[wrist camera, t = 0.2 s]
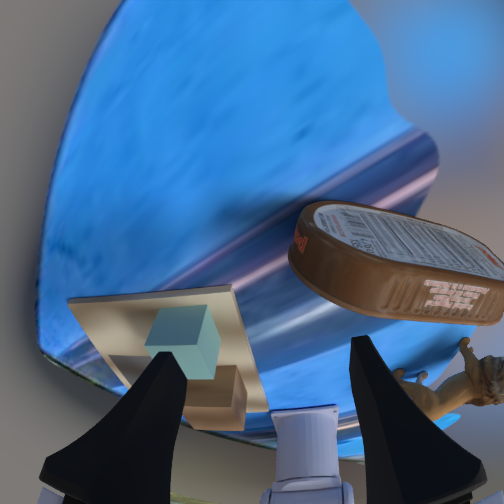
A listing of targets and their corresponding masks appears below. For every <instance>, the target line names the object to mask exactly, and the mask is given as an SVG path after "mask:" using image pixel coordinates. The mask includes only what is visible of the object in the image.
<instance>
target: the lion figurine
mask: <svg viewBox="0 0 504 504" xmlns="http://www.w3.org/2000/svg"><path fill="white" fill-rule="evenodd" d="M469 342H470V338H468V337H464V338H463V339H462V340H461V341H460V343H459V348H460V349H459V350H460V352H461V353H462V355H463V357H464V361H465V371H463V372H460V373H458V374H455V375H453V376H451V377H449V378H447V379H446V380H445V381H444V382H443V383H442V384H441V385H440V386H439V387H438V388H437V389H436V390H435V391H432V390H431V389H429V388H428V387H426V386H424V385H422V381H423V379H426V378H427V376H428V374H427V372H422V373H420V374H419V375H418V377H417V380H416V382H415V383H413V382H408V381H404V380H402V379H401V377H402V376H403V375H404V374H405V370H403V369H397V370H396V371H394V374H393V375H394V377H395V378H396V380H397V381H398V382H399V384H400V385H401V386H402V388H403V389H404V390H405V392H406V393H407V394H408V395H409V396H410V397H411V398H412V400H413V401H414V403H415V404H416V405H417V406H418V407H419V408H420V409H421V410H422V411H423V412H424V414H425V415H426V416H427V417H428V418H429V419H430V420H431V421H435V420H438V419H439V418H441V417H442V416H444V415H445V414H447V413H448V412H450V411H452V410H453V409H455V408H457V407H459V406H461V405H464V404H473V405H475V406H485V405H490V404H494V405H498V404H499V403H504V357H493V356H491V355H489V356H486V357H484V358H482V359H481V360H478V359H477V358H476V357H475V355H474V354H473V353H472V352H473V348H472V347H470V348H467V345H468V344H469Z"/></svg>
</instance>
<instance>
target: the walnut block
mask: <svg viewBox="0 0 504 504" xmlns="http://www.w3.org/2000/svg"><path fill="white" fill-rule="evenodd" d="M247 395H248V392H247V390H246V388H245V385H244V383H243V380H242V378H241V375H240V372H239V370H238V367H237V365H225V366H216V370H215V376H214V379H188V382H187V392H186V400H185V404H184V409H183V413H182V415H183V416H184V417H185V419H186V420H187V421H188V422H189V424H190V425H191V426H192V427H193V428H194V429H196V430H217V431H244V427H245V417H246V406H247Z"/></svg>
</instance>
